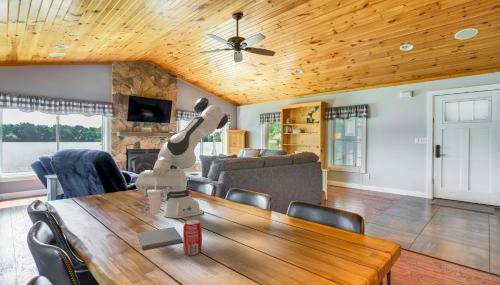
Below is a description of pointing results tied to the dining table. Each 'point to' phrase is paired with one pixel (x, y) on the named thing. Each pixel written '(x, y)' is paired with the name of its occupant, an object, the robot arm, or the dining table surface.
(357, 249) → the dining table surface
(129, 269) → the dining table surface
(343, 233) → the dining table surface
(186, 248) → the soda can
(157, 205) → the smoothie
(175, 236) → the gray square slab
